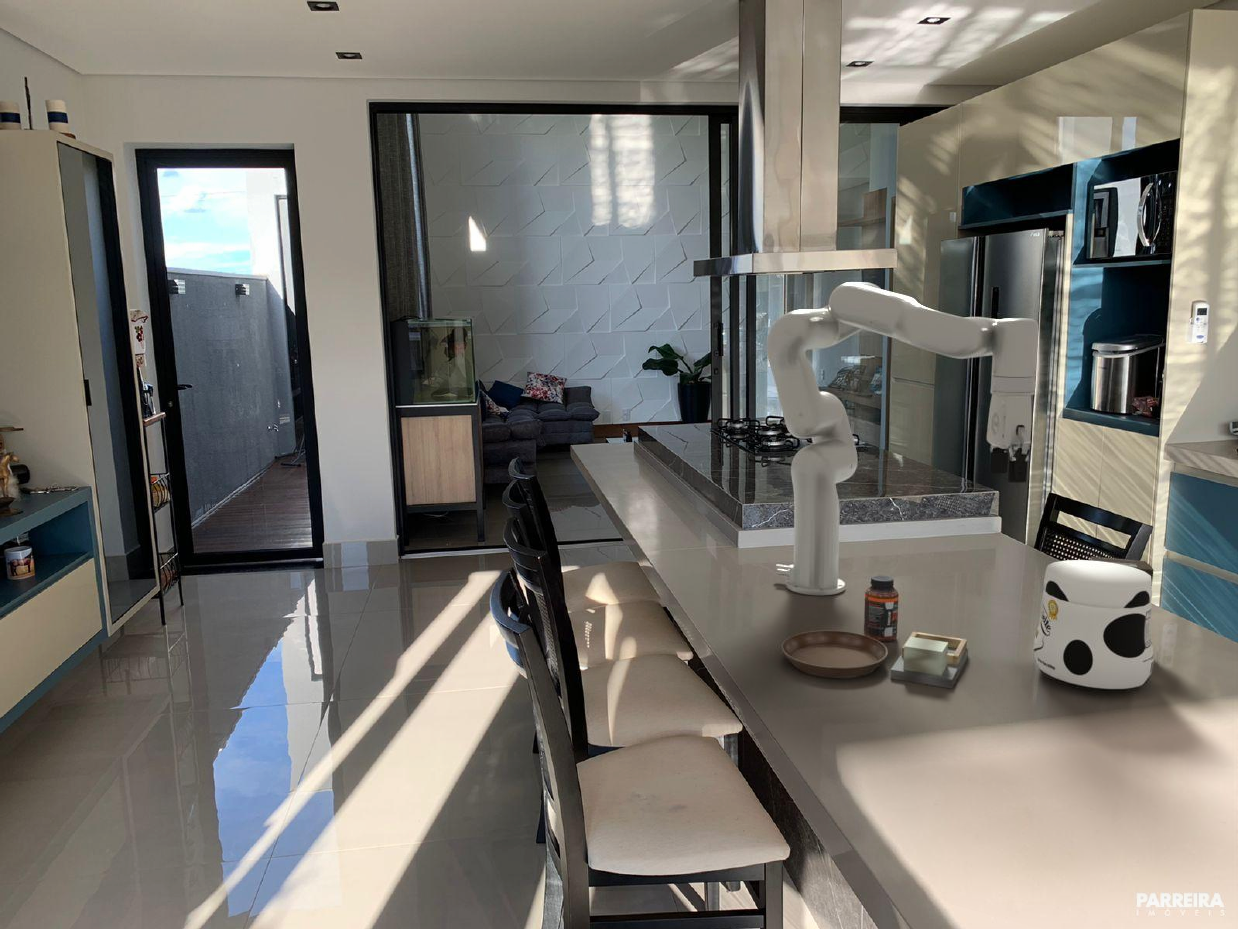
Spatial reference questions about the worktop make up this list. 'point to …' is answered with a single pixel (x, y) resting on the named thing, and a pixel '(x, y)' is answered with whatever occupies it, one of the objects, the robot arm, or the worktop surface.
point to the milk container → (1095, 626)
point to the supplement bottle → (881, 609)
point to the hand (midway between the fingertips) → (1007, 477)
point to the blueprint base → (929, 677)
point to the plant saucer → (834, 653)
